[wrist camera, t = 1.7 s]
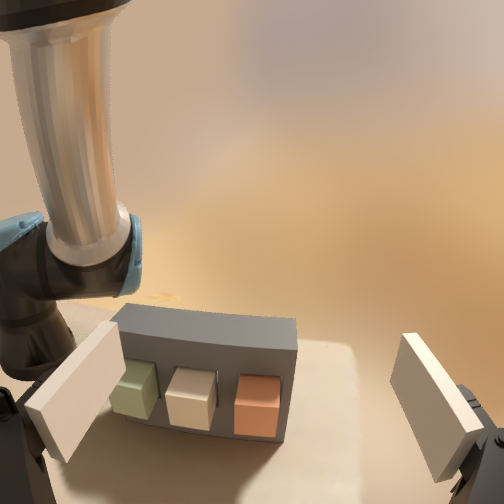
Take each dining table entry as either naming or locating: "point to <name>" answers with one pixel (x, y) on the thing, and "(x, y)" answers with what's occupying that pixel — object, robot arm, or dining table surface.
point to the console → (211, 357)
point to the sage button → (136, 389)
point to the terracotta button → (257, 405)
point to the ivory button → (192, 397)
